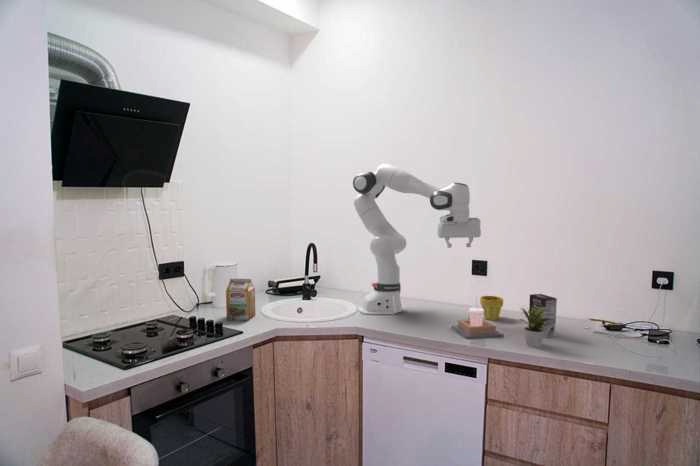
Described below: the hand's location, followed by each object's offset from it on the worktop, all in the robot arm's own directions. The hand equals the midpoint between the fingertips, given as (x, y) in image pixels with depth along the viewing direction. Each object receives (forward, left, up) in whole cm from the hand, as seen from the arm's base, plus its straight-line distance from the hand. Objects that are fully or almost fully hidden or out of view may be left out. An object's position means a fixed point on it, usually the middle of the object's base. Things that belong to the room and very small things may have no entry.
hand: (458, 247), depth 214 cm
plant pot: (+16, -2, -34) cm, 38 cm away
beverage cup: (-1, -22, -33) cm, 40 cm away
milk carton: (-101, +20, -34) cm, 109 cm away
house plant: (+12, -42, -34) cm, 55 cm away
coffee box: (+25, -29, -34) cm, 51 cm away
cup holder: (-1, -22, -34) cm, 40 cm away
